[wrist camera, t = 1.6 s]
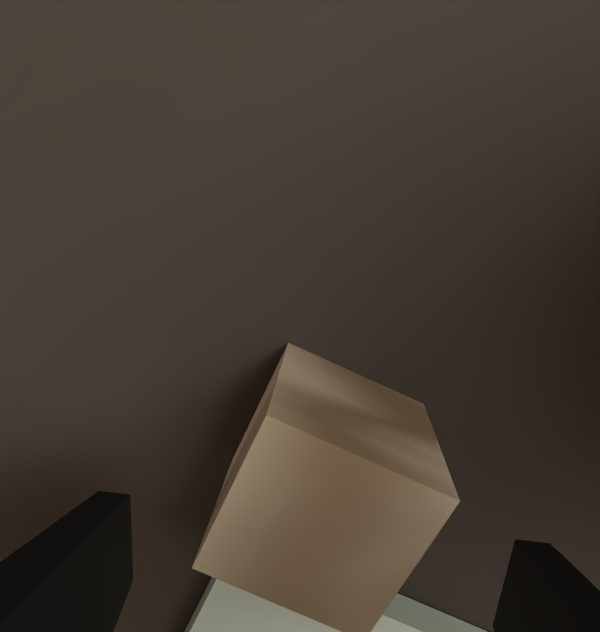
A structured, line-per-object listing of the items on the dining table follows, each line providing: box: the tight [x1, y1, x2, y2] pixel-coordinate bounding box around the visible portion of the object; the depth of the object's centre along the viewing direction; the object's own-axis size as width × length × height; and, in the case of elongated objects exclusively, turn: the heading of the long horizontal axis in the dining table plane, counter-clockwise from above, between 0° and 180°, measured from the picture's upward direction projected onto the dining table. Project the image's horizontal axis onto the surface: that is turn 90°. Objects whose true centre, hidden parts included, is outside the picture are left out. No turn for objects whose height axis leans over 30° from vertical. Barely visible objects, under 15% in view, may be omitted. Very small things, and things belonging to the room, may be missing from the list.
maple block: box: [192, 343, 460, 632], centre depth 11 cm, size 4×4×4 cm
